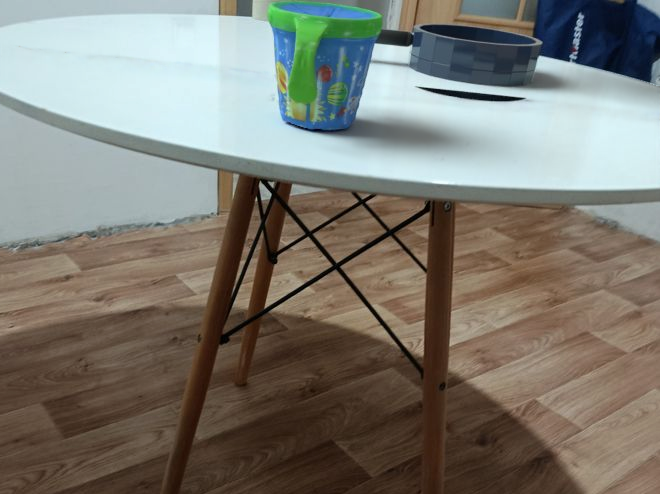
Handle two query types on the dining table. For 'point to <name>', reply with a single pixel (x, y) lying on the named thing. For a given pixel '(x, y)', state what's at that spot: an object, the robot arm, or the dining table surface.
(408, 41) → the pan handle
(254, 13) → the travel mug
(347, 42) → the snack cup
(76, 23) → the dining table surface
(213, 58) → the dining table surface
